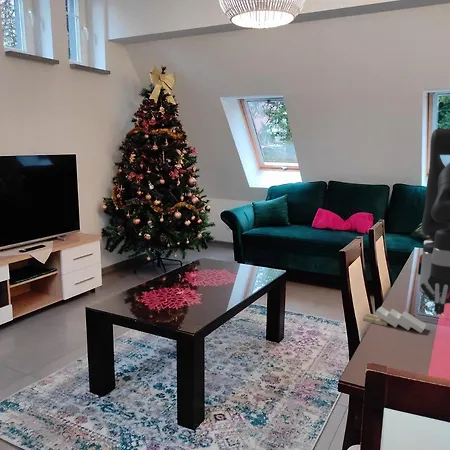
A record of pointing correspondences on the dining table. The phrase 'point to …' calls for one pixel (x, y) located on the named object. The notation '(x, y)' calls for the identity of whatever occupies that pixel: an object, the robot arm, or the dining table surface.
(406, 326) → the domino
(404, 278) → the dining table surface
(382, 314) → the domino
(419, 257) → the battery
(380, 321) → the domino
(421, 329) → the domino
